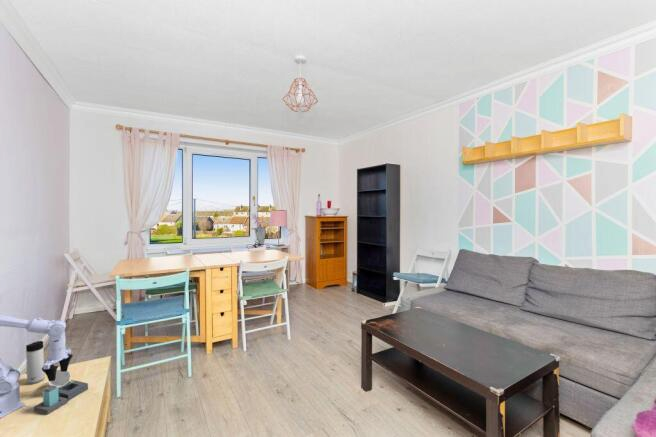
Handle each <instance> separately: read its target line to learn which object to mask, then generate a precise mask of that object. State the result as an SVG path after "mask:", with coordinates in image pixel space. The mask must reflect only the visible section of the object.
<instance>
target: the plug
mask: <svg viewBox="0 0 656 437" xmlns="http://www.w3.org/2000/svg"><path fill="white" fill-rule="evenodd" d="M42 399H43V400H42V402H43V406H46V407H50V406H52V405H54V404H55V403H57V402H59V398H58V388H57V387H56V386H54V385H51V386H50V385H49V386H46V387H45V388H44V390H43V391H42Z"/></svg>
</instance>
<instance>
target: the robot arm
mask: <svg viewBox="0 0 656 437" xmlns="http://www.w3.org/2000/svg"><path fill="white" fill-rule="evenodd" d="M0 327H9V328H18V329H19V328H20V329H25V330H26V331H27V333H28V332H29V333H37V334H44V335H45V334H46V335H47V336H48V338H49V340H48V349H49V350H48V351H49V355H48V356H49V358H48V359H47V361H46V362H44V365H43V367H42V371H44V375H46V377H47V380H48V382H49V381H54V380H55V378H56V371H57V370H58V368H60V369H59V370H61V372H66V371H67V370H68V368H69V365H70V361H71V360H72V358H73V354H72V349H71V348H69V349H67V348H66V347H67V346H66V342H67V340H66V327H67V323H66V322H65V321H64V320H61V319H52V320H49V319H43V318H42V317H37V318H35V317H34V318H33V319H24V318H19V317H15V316H8V315H4V314H0ZM58 362H59V365H54V364H56V363H58ZM20 378H21V372H20V371H19V370H18V369H15V368H13V367H12V366H10V365H7V364H5V362H4V361H3V360H2V358H0V419H1V418H3V417H5V416H7V415H8V414H10V413H12V412H14V411H17V410H18V409H20V408H21V407H23V406H26V403H25V402H21V396H20V395H21V393H20V383H19V381H18V380H19V379H20Z"/></svg>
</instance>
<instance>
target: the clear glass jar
mask: <svg viewBox="0 0 656 437" xmlns="http://www.w3.org/2000/svg"><path fill="white" fill-rule="evenodd" d="M69 381H71V372H70V371H69V370H68V369H67V371H66V372H61V369H57V371H56V378H55V380H54V381H49V380H48V384H49V386H51V385H54V386H56V387H57V388H59V387H62V386H64V385H66V384H67V383H68V382H69Z"/></svg>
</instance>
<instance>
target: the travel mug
mask: <svg viewBox="0 0 656 437" xmlns="http://www.w3.org/2000/svg"><path fill="white" fill-rule="evenodd" d="M25 350H26V351H25V352H26V353H25V354H26V356H25V357H26V382H27V383H26V384H27V385H36V384H38V383H41V382H43V380H45V372H44V371H42V367H43V365H44V364H45V354H44V353H45V352H44V351H45V350H44V341H43V340H39V341H34V342H32V343H29V344H27V345H26V348H25Z"/></svg>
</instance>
